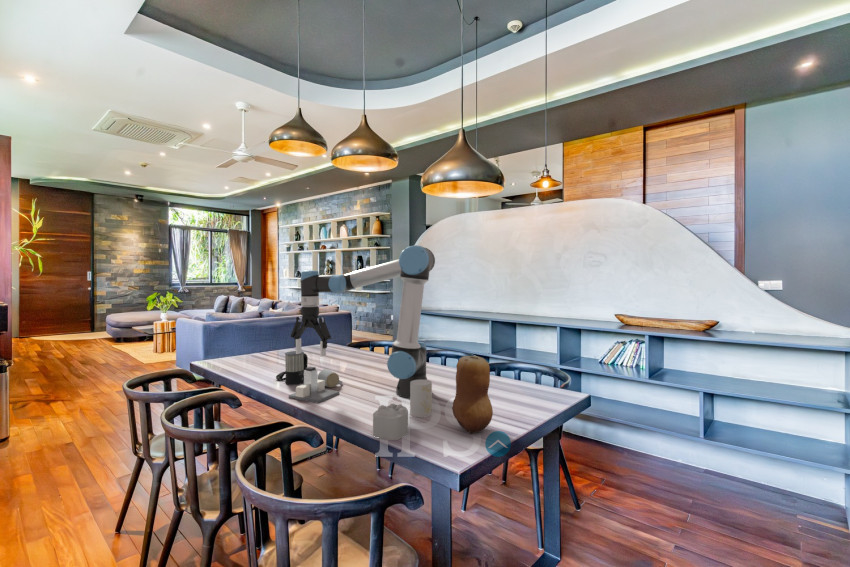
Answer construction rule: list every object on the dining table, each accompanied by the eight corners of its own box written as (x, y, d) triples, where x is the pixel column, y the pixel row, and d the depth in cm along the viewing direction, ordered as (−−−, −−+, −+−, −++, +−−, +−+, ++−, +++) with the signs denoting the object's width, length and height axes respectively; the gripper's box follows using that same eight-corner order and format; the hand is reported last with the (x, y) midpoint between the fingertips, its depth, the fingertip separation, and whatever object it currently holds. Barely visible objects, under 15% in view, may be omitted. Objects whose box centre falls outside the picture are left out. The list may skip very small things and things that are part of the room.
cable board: (339, 394, 184) (339, 382, 183) (318, 402, 171) (318, 390, 171) (310, 389, 190) (310, 378, 190) (288, 398, 178) (288, 385, 178)
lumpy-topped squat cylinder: (369, 437, 135) (368, 410, 135) (387, 423, 147) (387, 399, 147) (397, 441, 131) (397, 414, 131) (414, 427, 143) (414, 402, 143)
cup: (424, 418, 152) (424, 386, 152) (406, 414, 156) (406, 383, 156) (435, 412, 159) (435, 381, 159) (417, 408, 163) (417, 378, 163)
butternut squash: (500, 432, 139) (501, 357, 138) (470, 441, 131) (470, 362, 130) (473, 420, 150) (473, 351, 150) (443, 428, 142) (443, 355, 142)
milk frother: (301, 385, 199) (300, 354, 198) (268, 385, 199) (268, 354, 199) (309, 377, 213) (309, 349, 213) (279, 377, 213) (279, 348, 213)
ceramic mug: (327, 389, 191) (327, 372, 191) (317, 386, 196) (317, 370, 196) (346, 385, 198) (346, 369, 198) (336, 382, 204) (336, 366, 204)
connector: (317, 392, 182) (317, 367, 182) (311, 394, 179) (311, 369, 179) (310, 391, 184) (310, 366, 184) (304, 393, 181) (303, 368, 180)
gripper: (282, 306, 183) (282, 354, 183) (327, 307, 172) (328, 358, 172) (294, 304, 189) (294, 351, 190) (338, 306, 179) (339, 355, 179)
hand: (310, 354), depth 181 cm, fingers open, 13 cm apart
